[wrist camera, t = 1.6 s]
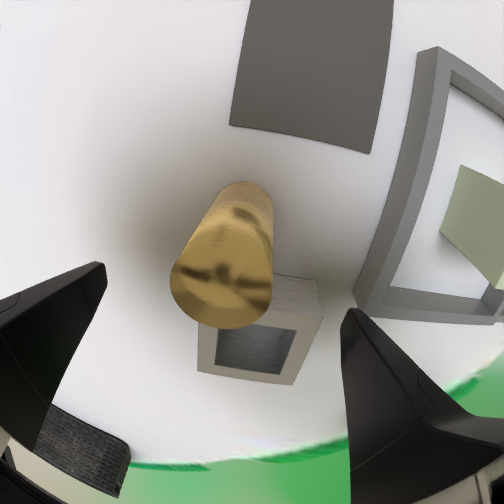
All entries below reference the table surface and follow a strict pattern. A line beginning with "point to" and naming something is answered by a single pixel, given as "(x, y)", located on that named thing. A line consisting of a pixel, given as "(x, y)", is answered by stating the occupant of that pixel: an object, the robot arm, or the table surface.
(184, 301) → the rod
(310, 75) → the mat
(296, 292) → the grey square socket block
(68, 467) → the storage bin
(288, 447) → the table surface
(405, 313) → the case
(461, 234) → the module
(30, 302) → the robot arm
